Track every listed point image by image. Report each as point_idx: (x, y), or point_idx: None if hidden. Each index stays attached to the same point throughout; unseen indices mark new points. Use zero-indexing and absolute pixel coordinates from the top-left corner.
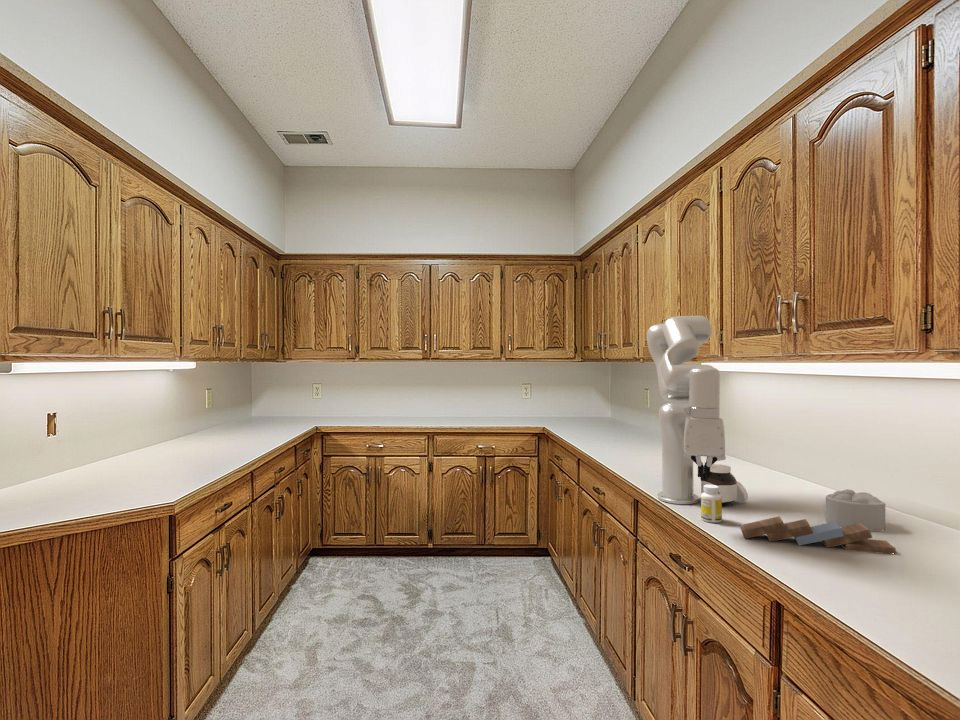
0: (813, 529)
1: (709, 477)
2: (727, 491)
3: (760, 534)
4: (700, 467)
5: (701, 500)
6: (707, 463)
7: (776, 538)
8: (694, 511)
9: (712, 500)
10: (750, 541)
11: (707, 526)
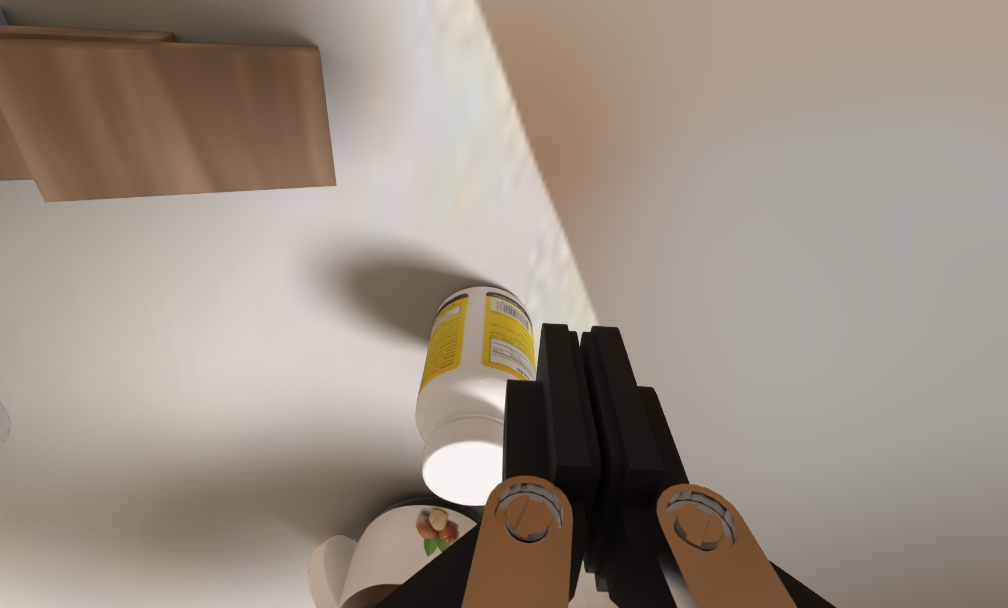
0: None
1: (511, 380)
2: (386, 553)
3: (205, 45)
4: (654, 483)
5: None
6: (557, 535)
7: (114, 30)
8: None
9: (475, 365)
10: (281, 5)
11: (515, 227)
